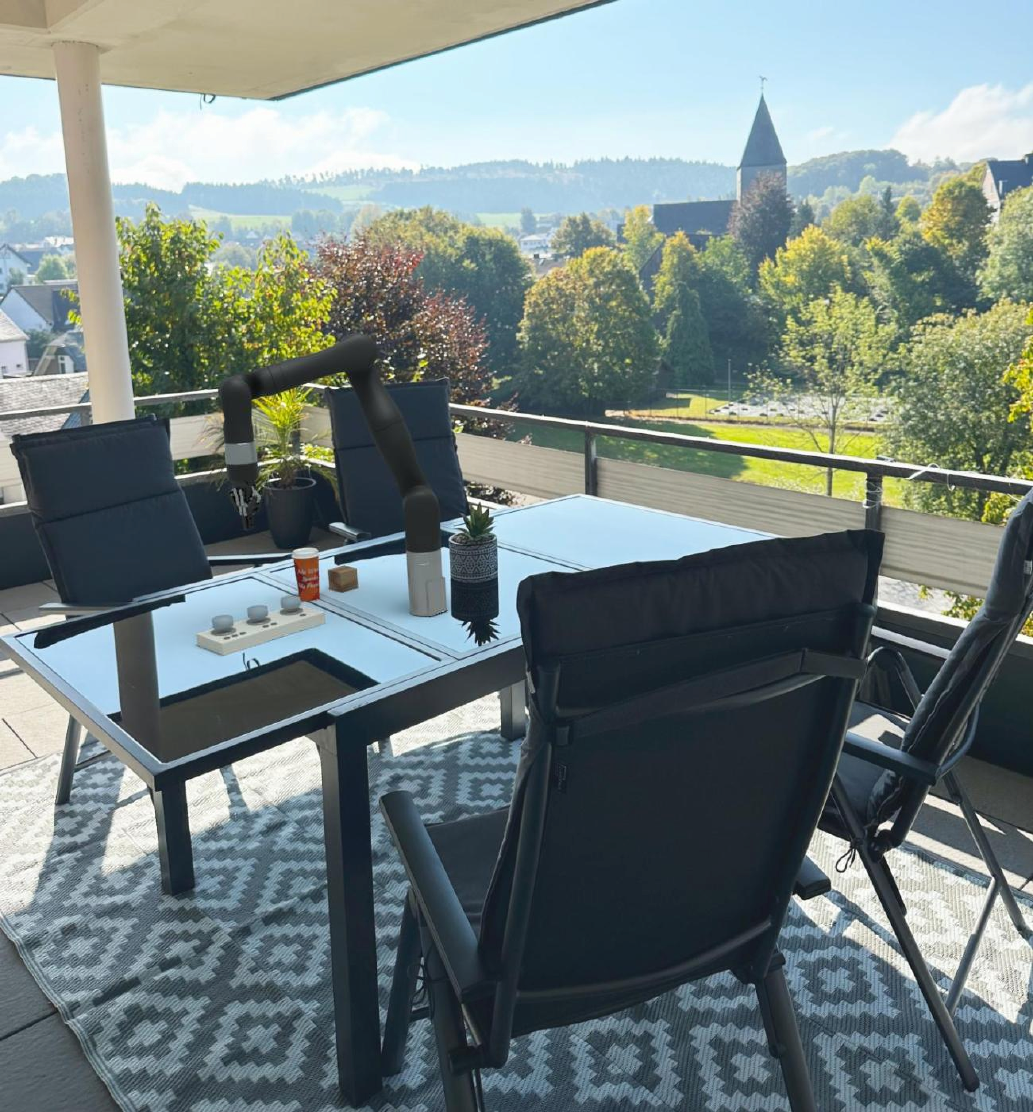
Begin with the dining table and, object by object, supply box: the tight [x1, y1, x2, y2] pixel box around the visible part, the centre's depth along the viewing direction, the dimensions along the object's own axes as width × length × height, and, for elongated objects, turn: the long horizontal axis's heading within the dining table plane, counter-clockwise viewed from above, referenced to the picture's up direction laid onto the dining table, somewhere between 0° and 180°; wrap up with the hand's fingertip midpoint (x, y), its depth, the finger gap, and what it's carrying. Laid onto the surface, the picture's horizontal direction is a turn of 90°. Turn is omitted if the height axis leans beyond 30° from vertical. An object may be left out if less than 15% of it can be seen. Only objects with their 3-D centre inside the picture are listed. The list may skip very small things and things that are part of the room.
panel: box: [195, 605, 326, 656], centre depth 253 cm, size 12×30×3 cm, turn 137°
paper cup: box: [291, 547, 321, 602], centre depth 281 cm, size 8×8×14 cm
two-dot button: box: [246, 604, 269, 619], centre depth 253 cm, size 5×5×2 cm
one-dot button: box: [279, 595, 302, 609], centre depth 260 cm, size 5×5×2 cm
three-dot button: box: [211, 614, 234, 629], centre depth 246 cm, size 5×5×2 cm
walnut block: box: [327, 565, 359, 594], centre depth 290 cm, size 6×6×6 cm
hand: (248, 529), depth 248 cm, fingers closed
